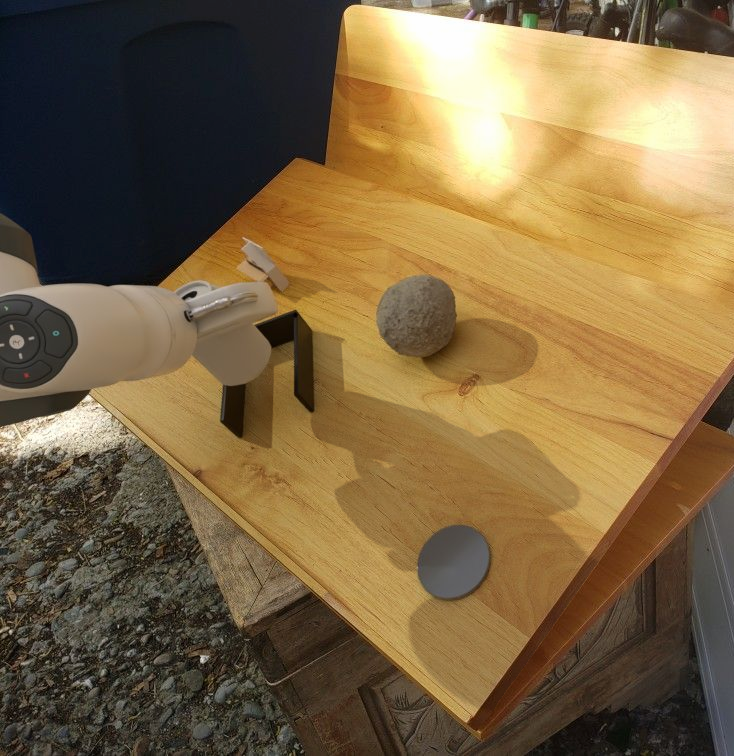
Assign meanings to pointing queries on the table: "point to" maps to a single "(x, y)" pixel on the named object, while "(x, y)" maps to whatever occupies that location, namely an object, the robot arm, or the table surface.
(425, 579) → the coaster
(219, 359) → the can
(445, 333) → the decorative stone
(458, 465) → the table surface
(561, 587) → the table surface
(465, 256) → the table surface
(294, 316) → the frame
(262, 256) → the architectural model
